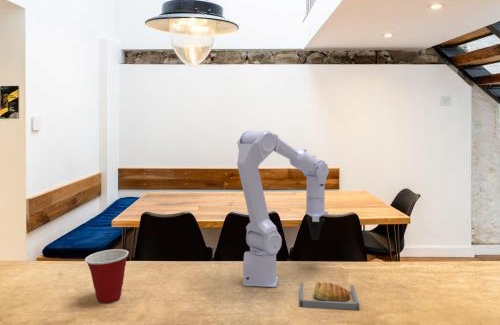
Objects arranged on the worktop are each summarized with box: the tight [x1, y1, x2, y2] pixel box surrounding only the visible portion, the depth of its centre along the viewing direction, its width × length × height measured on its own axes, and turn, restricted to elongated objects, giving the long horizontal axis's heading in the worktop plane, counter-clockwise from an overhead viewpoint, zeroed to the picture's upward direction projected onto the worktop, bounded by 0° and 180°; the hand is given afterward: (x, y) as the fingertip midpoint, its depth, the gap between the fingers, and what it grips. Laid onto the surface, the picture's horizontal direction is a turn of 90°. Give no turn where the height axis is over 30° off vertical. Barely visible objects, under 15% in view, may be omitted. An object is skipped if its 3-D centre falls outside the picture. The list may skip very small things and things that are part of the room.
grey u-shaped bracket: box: [299, 282, 360, 311], centre depth 110 cm, size 15×13×2 cm
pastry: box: [313, 281, 351, 302], centre depth 110 cm, size 9×7×4 cm
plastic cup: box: [84, 248, 129, 304], centre depth 108 cm, size 11×11×12 cm
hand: (314, 239), depth 133 cm, fingers closed
